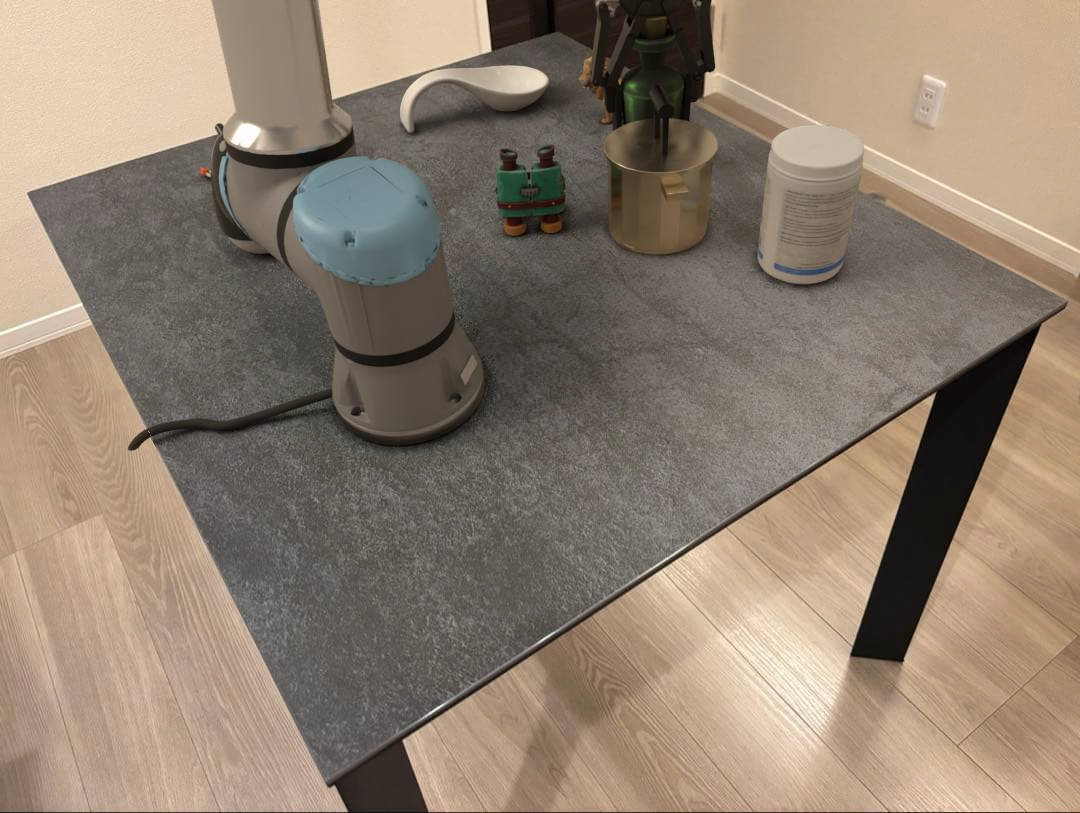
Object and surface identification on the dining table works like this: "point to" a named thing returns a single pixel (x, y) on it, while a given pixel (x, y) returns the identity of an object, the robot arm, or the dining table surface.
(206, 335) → the dining table surface
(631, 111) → the potion bottle
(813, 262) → the supplement tub
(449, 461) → the dining table surface
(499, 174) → the toy field glasses
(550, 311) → the dining table surface
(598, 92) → the lion figurine
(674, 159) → the pot lid
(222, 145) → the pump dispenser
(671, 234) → the pot
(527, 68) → the spoon rest
